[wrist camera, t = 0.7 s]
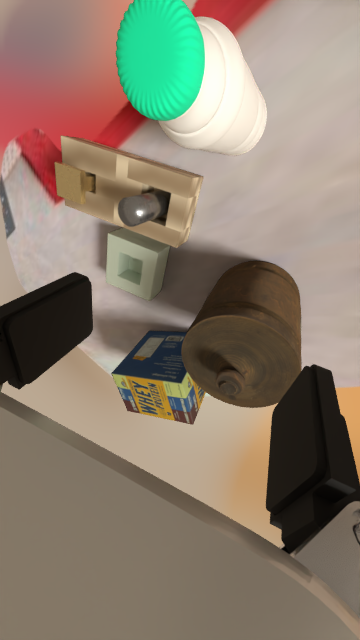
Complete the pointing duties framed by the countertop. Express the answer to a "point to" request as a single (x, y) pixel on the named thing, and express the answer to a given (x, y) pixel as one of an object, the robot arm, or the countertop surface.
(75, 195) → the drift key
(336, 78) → the countertop surface
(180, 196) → the socket block
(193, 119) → the water bottle
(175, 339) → the protein box
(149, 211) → the silver cylinder
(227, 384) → the wooden container
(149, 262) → the pale green square block
